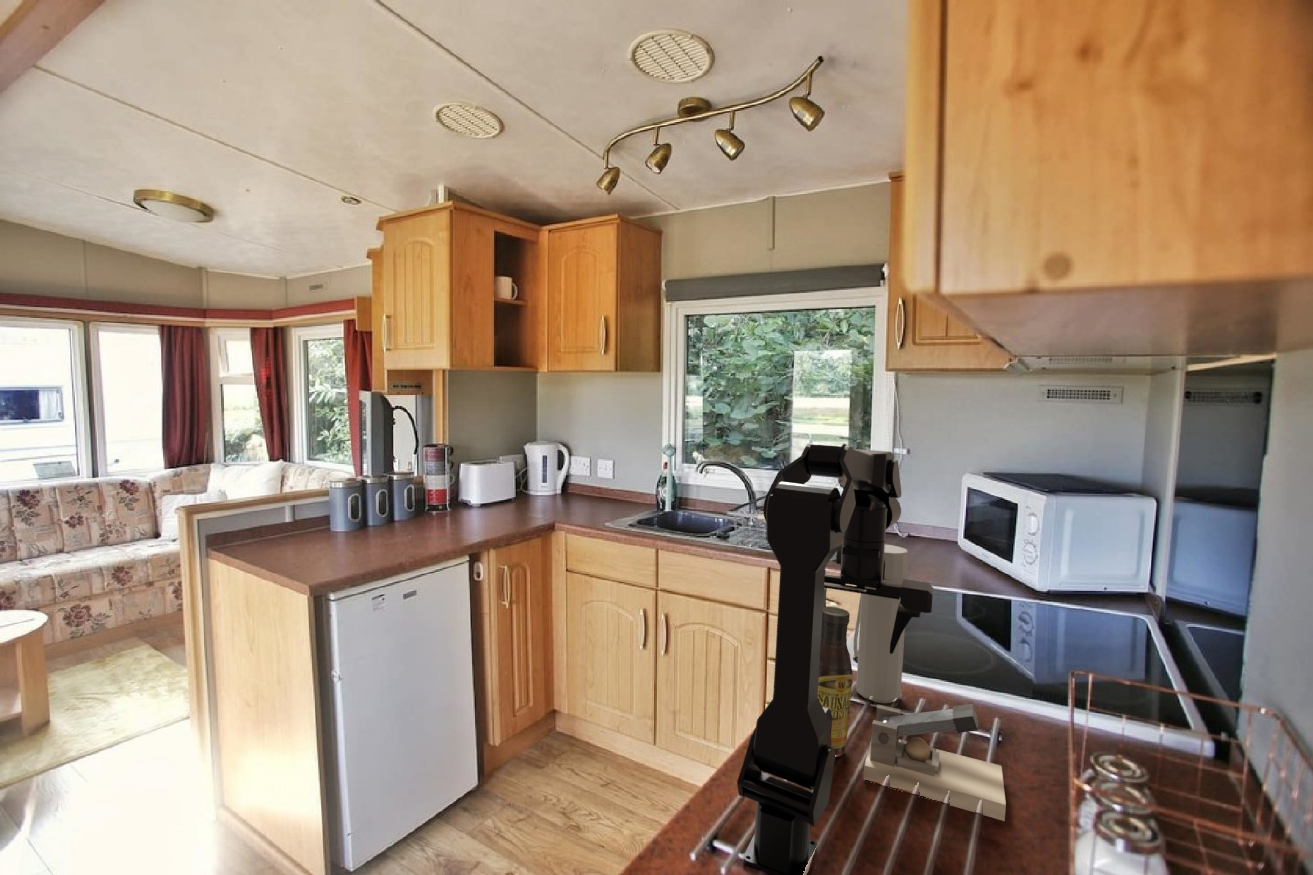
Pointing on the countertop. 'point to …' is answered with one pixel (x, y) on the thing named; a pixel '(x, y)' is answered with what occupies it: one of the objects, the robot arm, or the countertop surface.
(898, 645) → the water bottle
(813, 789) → the robot arm
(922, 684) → the countertop surface
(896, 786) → the nutcracker base
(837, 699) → the sauce bottle
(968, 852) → the countertop surface
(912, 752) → the walnut
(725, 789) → the countertop surface
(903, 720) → the nutcracker lever
